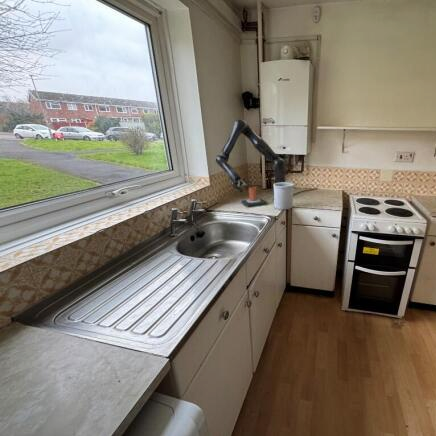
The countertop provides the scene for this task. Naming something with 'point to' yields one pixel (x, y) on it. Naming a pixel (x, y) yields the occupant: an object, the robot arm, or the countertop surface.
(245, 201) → the kitchen scale
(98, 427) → the countertop surface
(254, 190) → the cup
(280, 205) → the utensil holder
